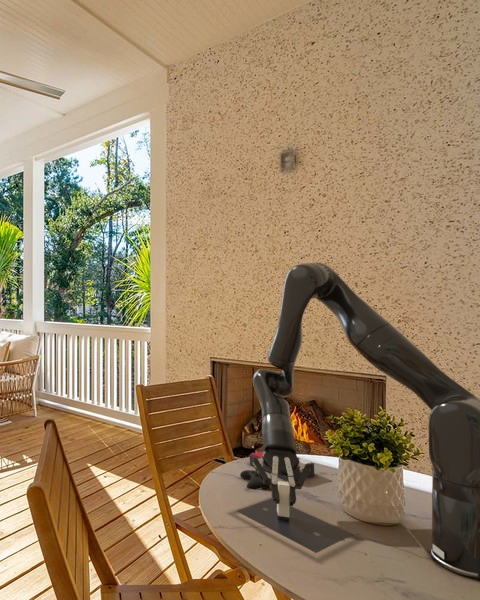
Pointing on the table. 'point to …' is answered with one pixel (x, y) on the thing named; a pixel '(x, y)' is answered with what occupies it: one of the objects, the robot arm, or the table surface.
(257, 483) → the game controller
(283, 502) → the tall cream square pillar
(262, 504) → the tablet
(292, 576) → the table surface
